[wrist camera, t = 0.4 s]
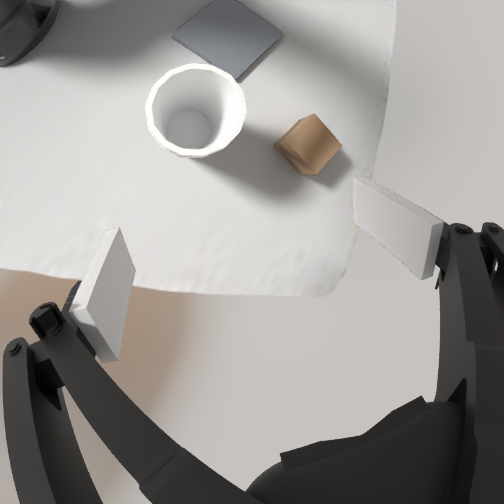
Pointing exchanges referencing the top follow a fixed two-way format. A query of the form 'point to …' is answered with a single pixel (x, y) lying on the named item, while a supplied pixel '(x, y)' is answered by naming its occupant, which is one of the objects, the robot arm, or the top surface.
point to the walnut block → (308, 145)
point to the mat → (227, 36)
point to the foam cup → (195, 110)
